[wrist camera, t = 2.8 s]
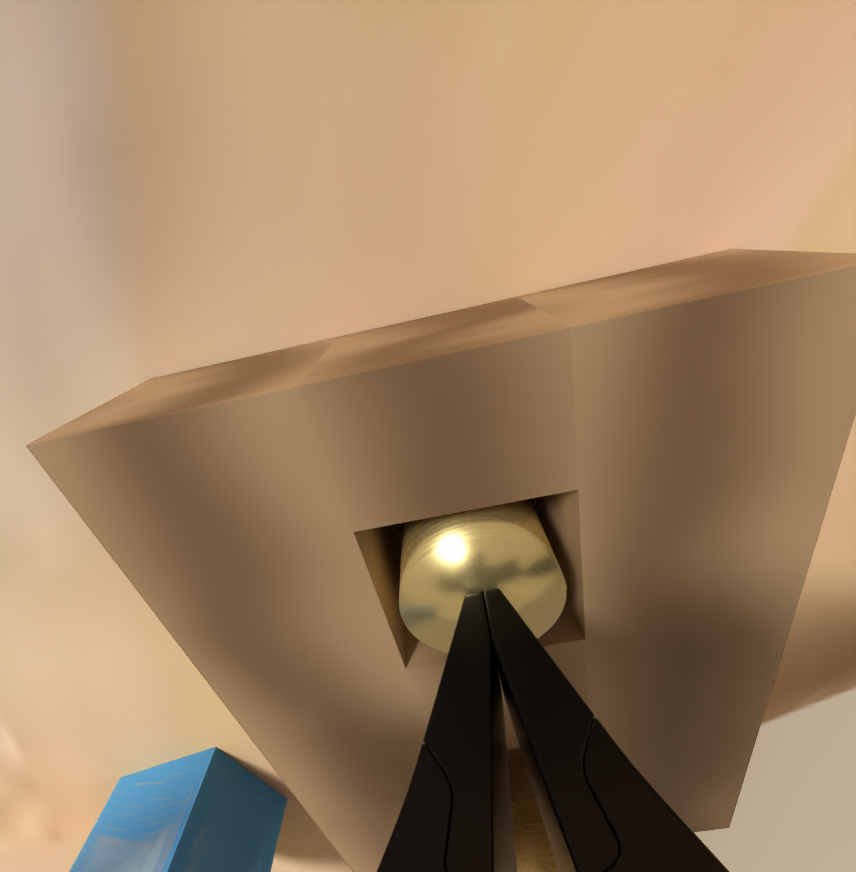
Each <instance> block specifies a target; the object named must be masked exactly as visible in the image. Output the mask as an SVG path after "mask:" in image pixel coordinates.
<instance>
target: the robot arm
mask: <svg viewBox="0 0 856 872" xmlns="http://www.w3.org/2000/svg"><path fill="white" fill-rule="evenodd" d="M498 672H499V673H498ZM499 677H500V678H499ZM500 681H501V683H500ZM501 686H502V689H501ZM502 690H503V694H504V698H505V701H506V704H507V708H508V711H509V714H510V717H511V721H512V724H513V727H514V730H515V733H516V737H517V740H518V743H519V746H520V750H521V753H522V756H523V759H524V762H525V766H526V769H527V772H528V775H529V779H530V782H531V785H532V788H533V792H534V795H535V798H536V801H537V804H538V808H539V811H540V814H541V817H542V821H543V824H544V827H545V830H546V833H547V837H548V840H549V843H550V846H551V850H552V853H553V856H554V859H555V862H556V866H557V869H558V872H729V871H728V870H727V869H726V868H725V866H724V865H723V864H722V863H721V862H720V861H719V860H718V859H717V858H716V857H715V855H714V854H713V853H712V852H711V851H710V850H709V849H708V848H707V847H706V846H705V845H704V843H703V842H702V841H701V840H700V839H699V838H698V837H697V836H696V835H695V833H694V832H693V831H692V830H691V829H690V828H689V827H688V826H687V825H686V824H685V822H684V821H683V820H682V819H681V818H680V817H679V816H678V815H677V814H676V813H675V811H674V810H673V809H672V808H671V807H670V806H669V805H668V804H667V803H666V802H665V801H664V799H663V798H662V797H661V796H660V795H659V794H658V793H657V792H656V790H655V789H654V788H653V787H652V786H651V785H650V784H649V782H648V781H647V780H646V779H645V778H644V777H643V775H642V774H641V773H640V772H639V771H638V770H637V769H636V767H635V766H634V765H633V764H632V763H631V761H630V760H629V759H628V758H627V756H626V755H625V754H624V753H623V751H622V750H621V749H620V748H619V746H618V745H617V744H616V742H615V741H614V740H613V739H612V737H611V736H610V735H609V733H608V732H607V731H606V729H605V728H604V727H603V725H602V724H601V723H600V721H599V720H598V719H597V718H595V717H594V714H593V712H592V711H591V710H590V708H589V707H588V706H587V704H586V703H585V702H584V700H583V699H582V698H581V696H580V695H579V694H578V692H577V691H576V690H575V688H574V687H573V686H572V684H571V683H570V682H569V680H568V679H567V678H566V676H565V675H564V674H563V672H562V671H561V670H560V668H559V667H558V666H557V664H556V663H555V662H554V660H553V659H552V658H551V656H550V655H549V654H548V652H547V651H546V650H545V648H544V647H543V646H542V644H541V643H540V642H539V640H538V639H537V638H536V636H535V635H534V634H533V632H532V631H531V630H530V628H529V627H528V626H527V624H526V623H525V622H524V620H523V619H522V618H521V616H520V615H519V614H518V612H517V611H516V610H515V608H514V607H513V606H512V604H511V603H510V602H509V600H508V599H507V598H506V596H505V595H504V594H503V592H502V591H501V590H500V589H492V590H486V591H484V592H483V594H482V593H481V592H475V593H469V594H466V595H465V597H464V600H463V604H462V607H461V611H460V614H459V618H458V621H457V624H456V628H455V631H454V635H453V638H452V642H451V645H450V649H449V652H448V656H447V659H446V663H445V666H444V670H443V673H442V676H441V680H440V683H439V687H438V690H437V694H436V697H435V701H434V704H433V708H432V711H431V715H430V718H429V722H428V725H427V729H426V732H425V735H424V739H423V742H424V744H422V745H421V749H420V752H419V756H418V759H417V762H416V766H415V769H414V772H413V775H412V778H411V782H410V785H409V788H408V791H407V794H406V797H405V800H404V802H403V805H402V808H401V810H400V813H399V816H398V818H397V821H396V824H395V827H394V829H393V832H392V834H391V837H390V839H389V842H388V844H387V847H386V849H385V852H384V854H383V857H382V859H381V862H380V864H379V867H378V869H377V872H517V863H516V851H515V839H514V827H513V816H512V804H511V792H510V780H509V768H508V756H507V744H506V732H505V720H504V708H503V698H502Z"/></svg>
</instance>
